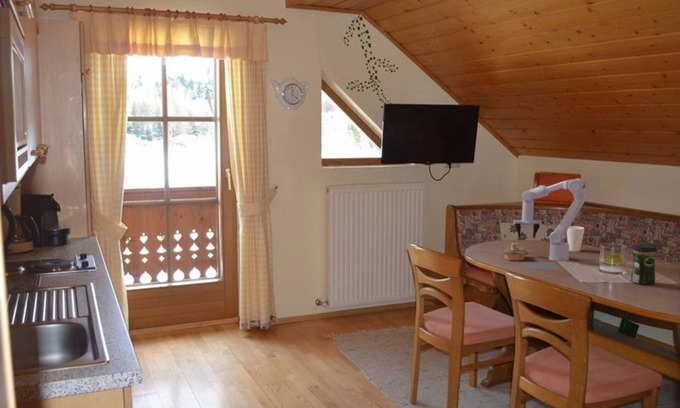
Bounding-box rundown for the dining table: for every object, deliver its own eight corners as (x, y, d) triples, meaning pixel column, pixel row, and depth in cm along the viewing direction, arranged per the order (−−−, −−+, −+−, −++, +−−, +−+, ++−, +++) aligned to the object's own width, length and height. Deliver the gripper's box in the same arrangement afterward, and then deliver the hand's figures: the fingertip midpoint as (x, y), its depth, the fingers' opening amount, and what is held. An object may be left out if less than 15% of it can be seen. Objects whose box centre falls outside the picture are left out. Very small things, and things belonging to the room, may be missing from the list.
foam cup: (580, 248, 359) (581, 226, 357) (585, 252, 350) (586, 229, 348) (563, 248, 360) (564, 225, 358) (567, 251, 351) (568, 228, 349)
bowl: (522, 257, 336) (522, 250, 336) (525, 261, 327) (525, 253, 326) (503, 256, 338) (503, 249, 337) (506, 260, 328) (506, 253, 328)
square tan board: (524, 249, 337) (524, 241, 336) (528, 254, 325) (528, 246, 324) (501, 249, 338) (501, 240, 337) (504, 253, 326) (504, 245, 326)
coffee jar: (645, 280, 292) (649, 240, 289) (657, 284, 284) (661, 244, 281) (627, 281, 290) (630, 241, 287) (638, 285, 282) (641, 245, 280)
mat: (554, 263, 323) (554, 262, 323) (561, 271, 308) (561, 270, 307) (522, 262, 325) (522, 261, 325) (527, 269, 309) (527, 268, 309)
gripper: (515, 213, 334) (514, 238, 336) (543, 214, 333) (542, 239, 335) (512, 211, 341) (511, 236, 343) (540, 212, 340) (539, 236, 341)
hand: (526, 237), depth 339 cm, fingers open, 7 cm apart
